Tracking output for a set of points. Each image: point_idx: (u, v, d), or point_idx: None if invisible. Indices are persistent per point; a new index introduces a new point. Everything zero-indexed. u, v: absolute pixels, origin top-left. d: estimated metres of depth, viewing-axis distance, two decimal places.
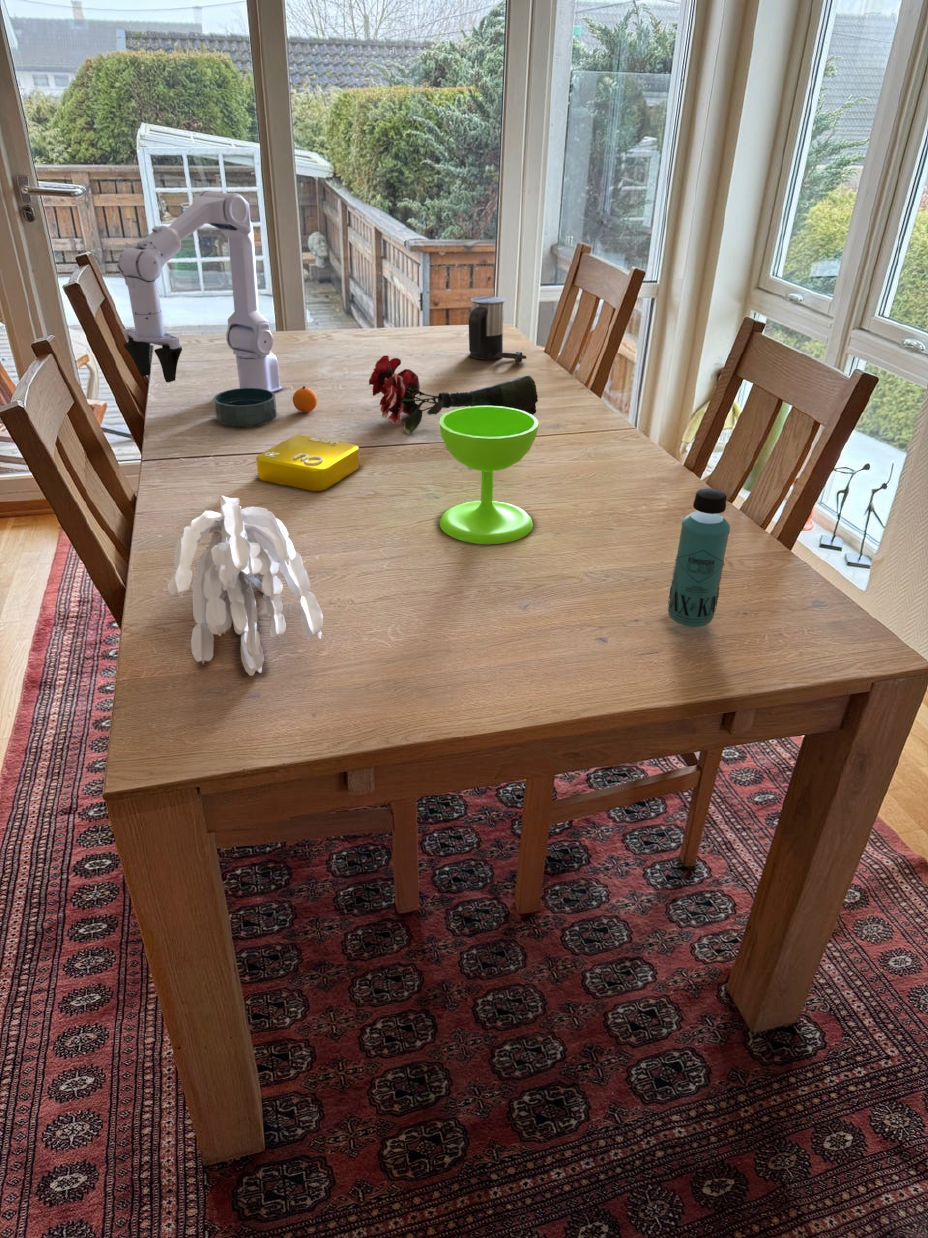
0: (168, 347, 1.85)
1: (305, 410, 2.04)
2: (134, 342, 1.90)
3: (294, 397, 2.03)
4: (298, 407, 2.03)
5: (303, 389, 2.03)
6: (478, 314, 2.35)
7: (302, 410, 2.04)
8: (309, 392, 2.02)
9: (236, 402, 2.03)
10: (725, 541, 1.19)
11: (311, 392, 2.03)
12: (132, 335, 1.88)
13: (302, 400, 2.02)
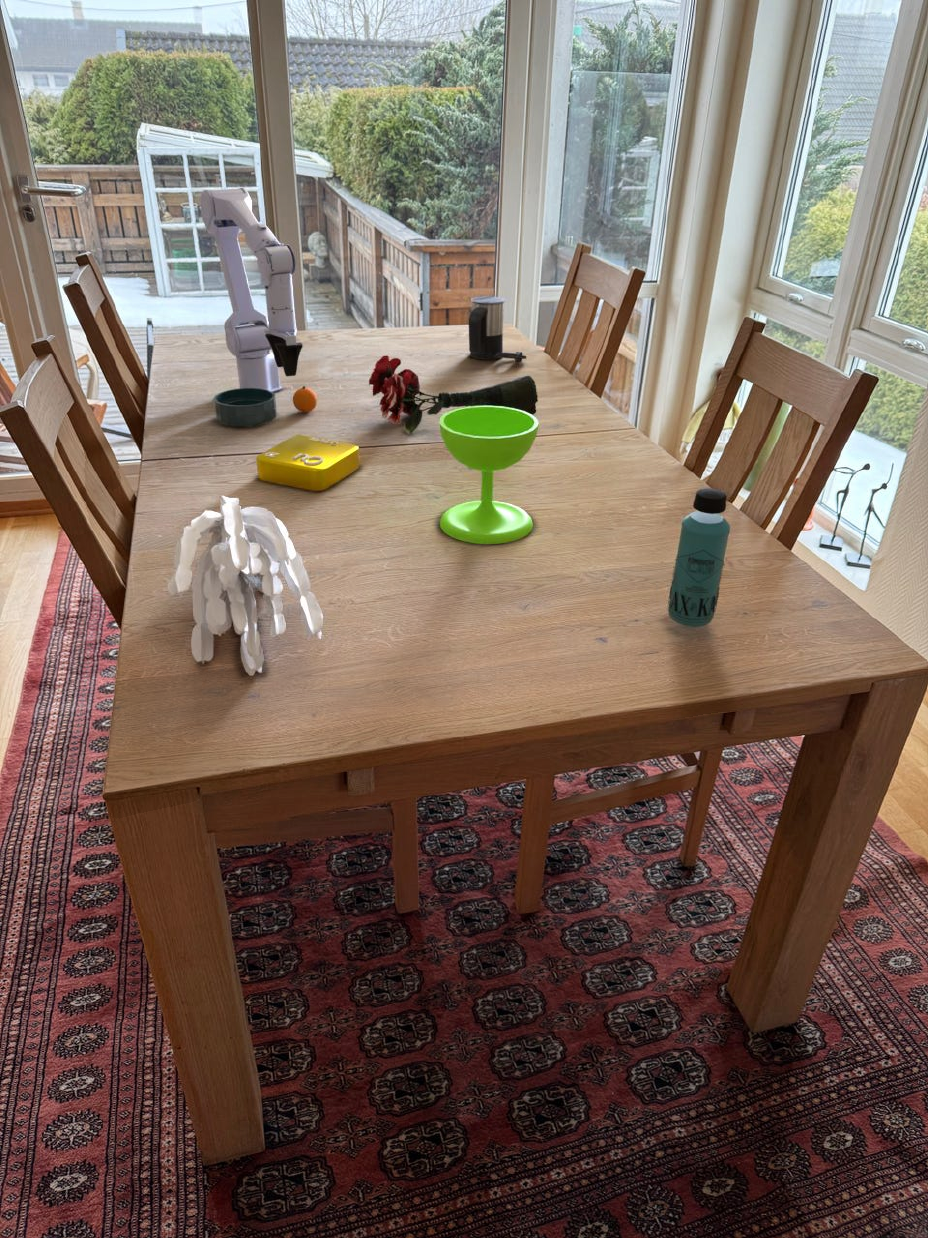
0: (285, 343, 1.91)
1: (305, 410, 2.04)
2: None
3: (294, 397, 2.03)
4: (298, 407, 2.03)
5: (303, 389, 2.03)
6: (478, 314, 2.35)
7: (302, 410, 2.04)
8: (309, 392, 2.02)
9: (236, 402, 2.03)
10: (725, 541, 1.19)
11: (311, 392, 2.03)
12: None
13: (302, 400, 2.02)
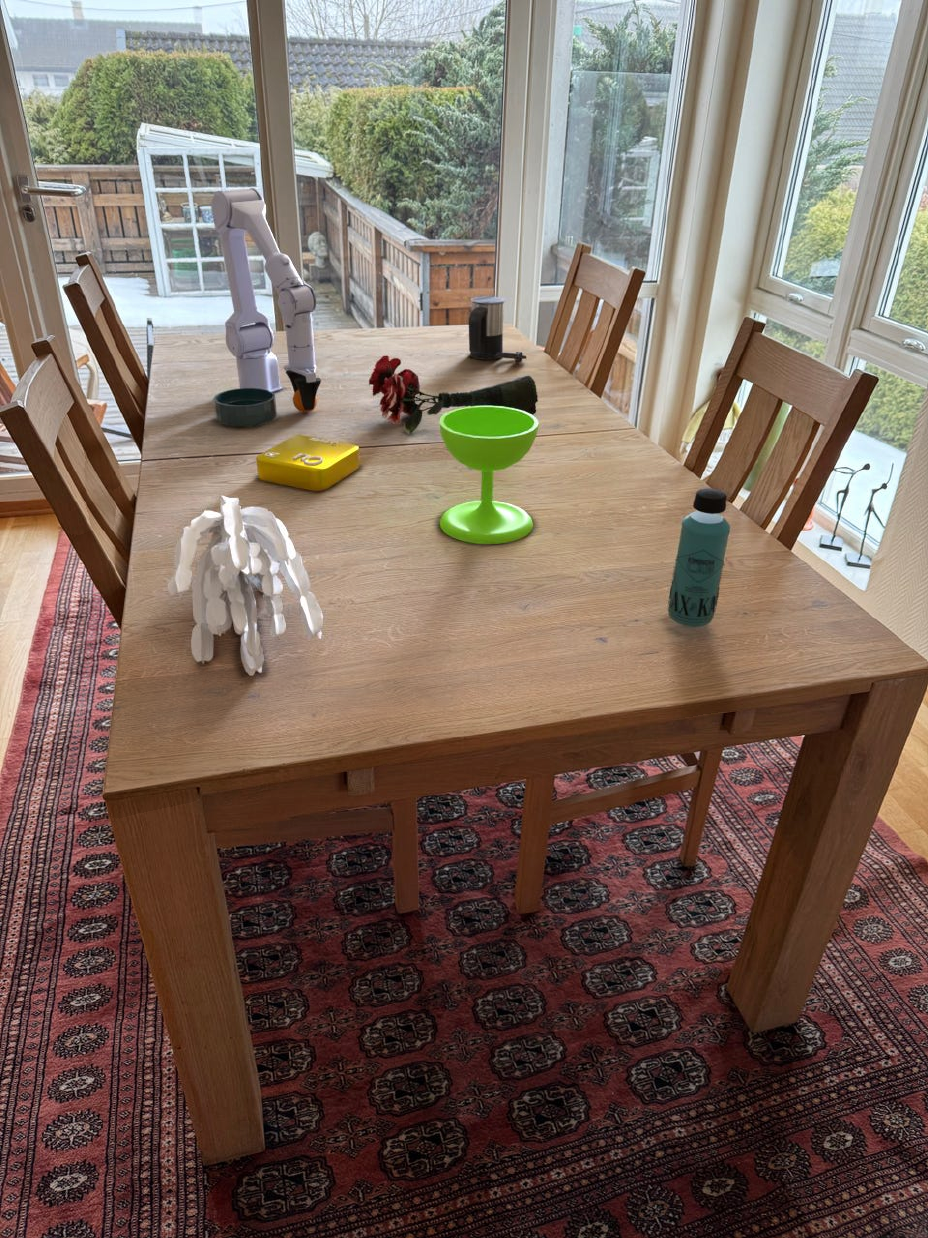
0: (304, 379, 1.97)
1: (305, 410, 2.04)
2: None
3: (294, 397, 2.03)
4: (298, 407, 2.03)
5: None
6: (478, 314, 2.35)
7: (302, 410, 2.04)
8: None
9: (236, 402, 2.03)
10: (725, 541, 1.19)
11: None
12: None
13: None
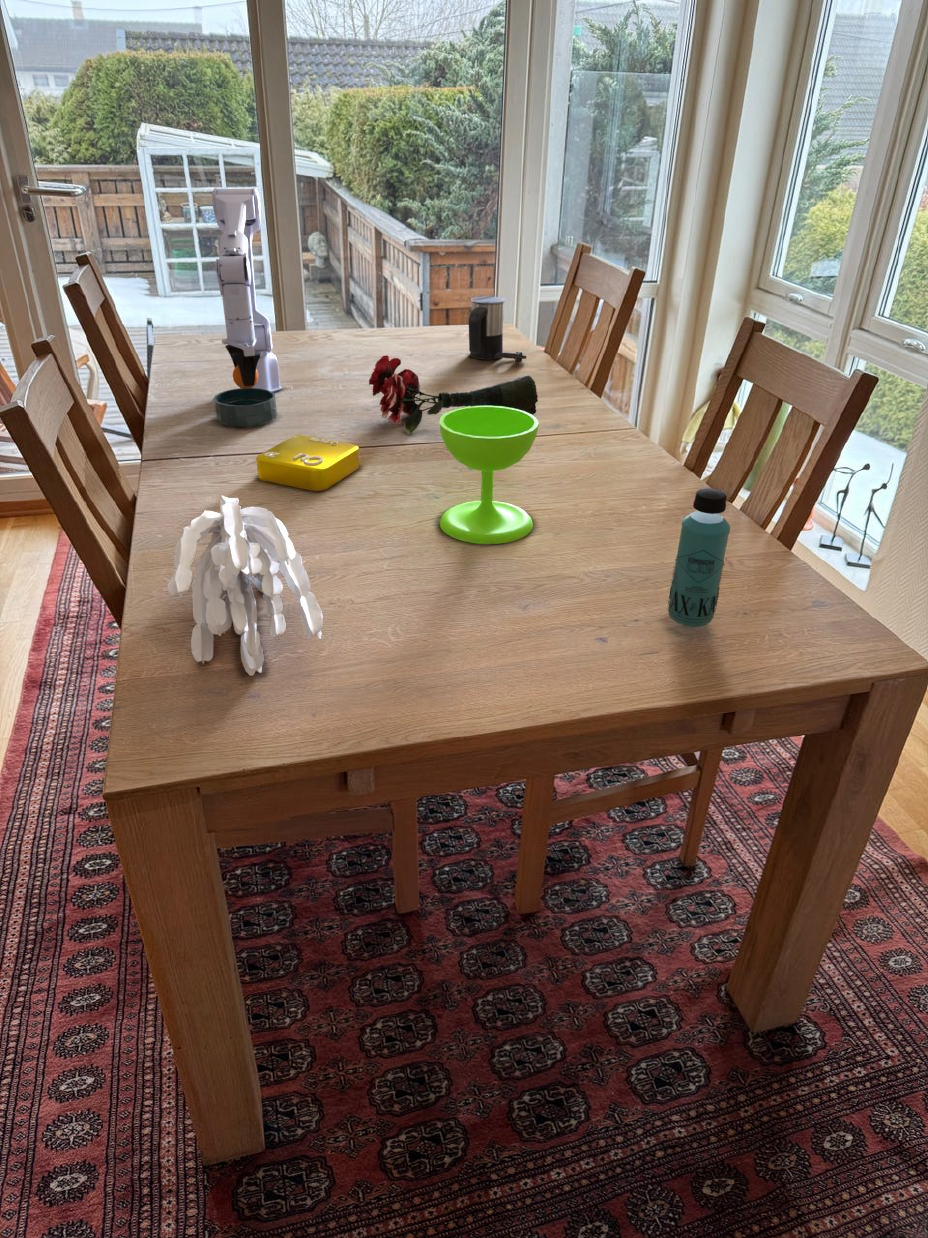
0: (243, 352, 1.89)
1: (245, 386, 1.96)
2: (234, 345, 1.96)
3: (234, 373, 1.95)
4: (238, 383, 1.95)
5: None
6: (478, 314, 2.35)
7: (242, 386, 1.96)
8: None
9: (236, 402, 2.03)
10: (725, 541, 1.19)
11: None
12: None
13: None
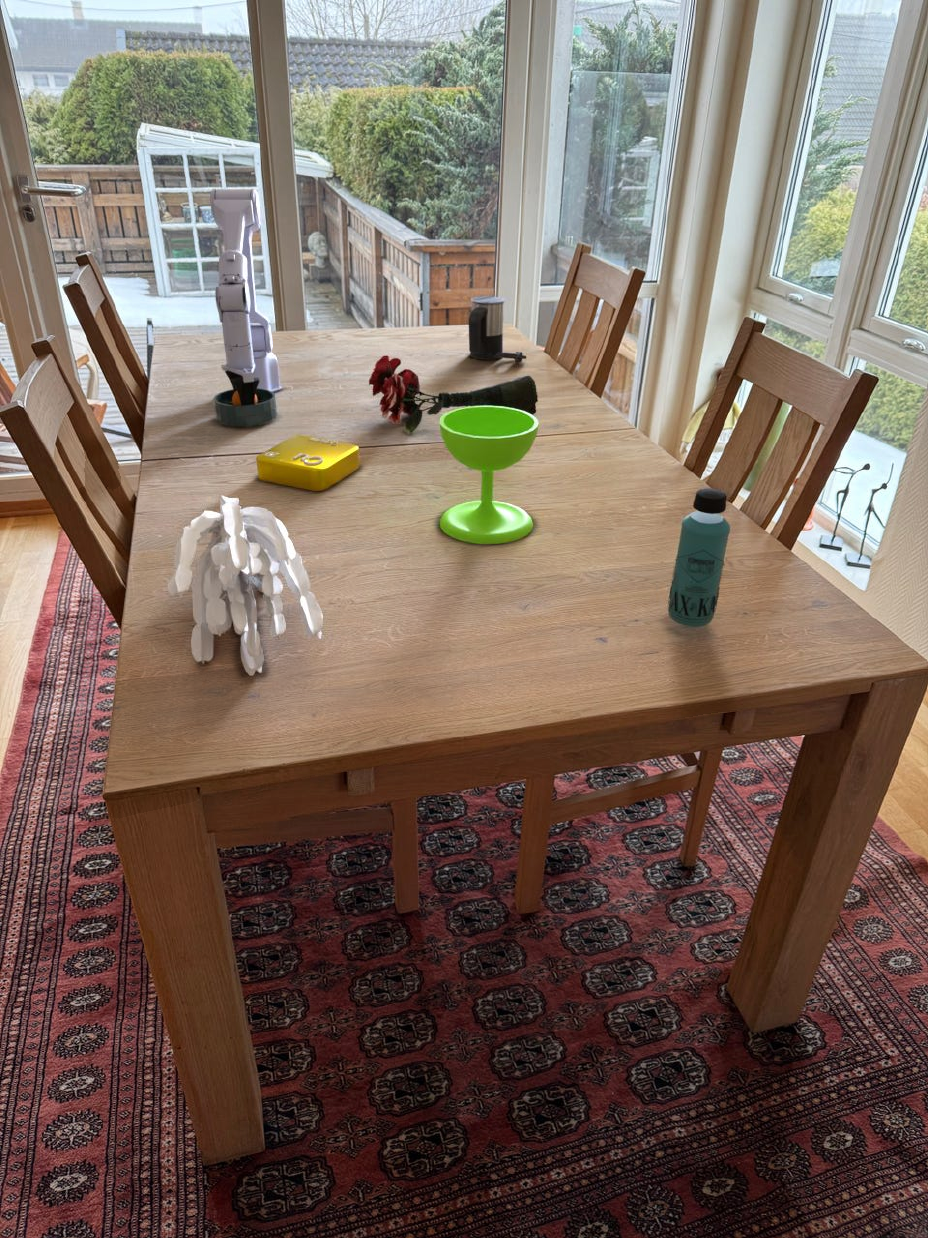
0: (242, 378, 1.92)
1: None
2: None
3: (233, 398, 1.97)
4: None
5: None
6: (478, 314, 2.35)
7: None
8: None
9: None
10: (725, 541, 1.19)
11: None
12: None
13: None
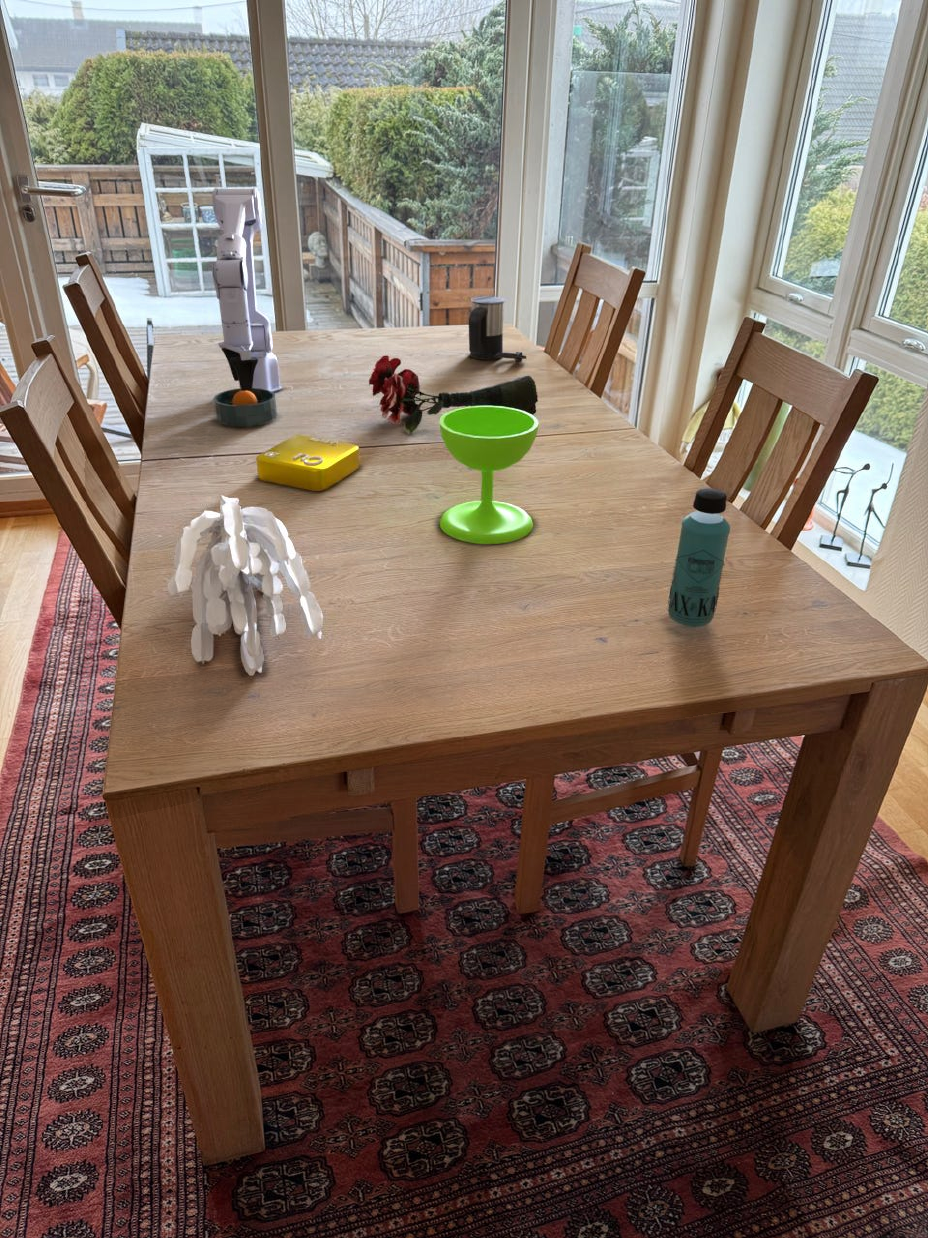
0: (240, 357, 1.89)
1: None
2: None
3: (233, 398, 1.99)
4: None
5: None
6: (478, 314, 2.35)
7: None
8: (248, 392, 1.99)
9: None
10: (725, 541, 1.19)
11: (250, 392, 2.00)
12: None
13: (241, 397, 1.98)
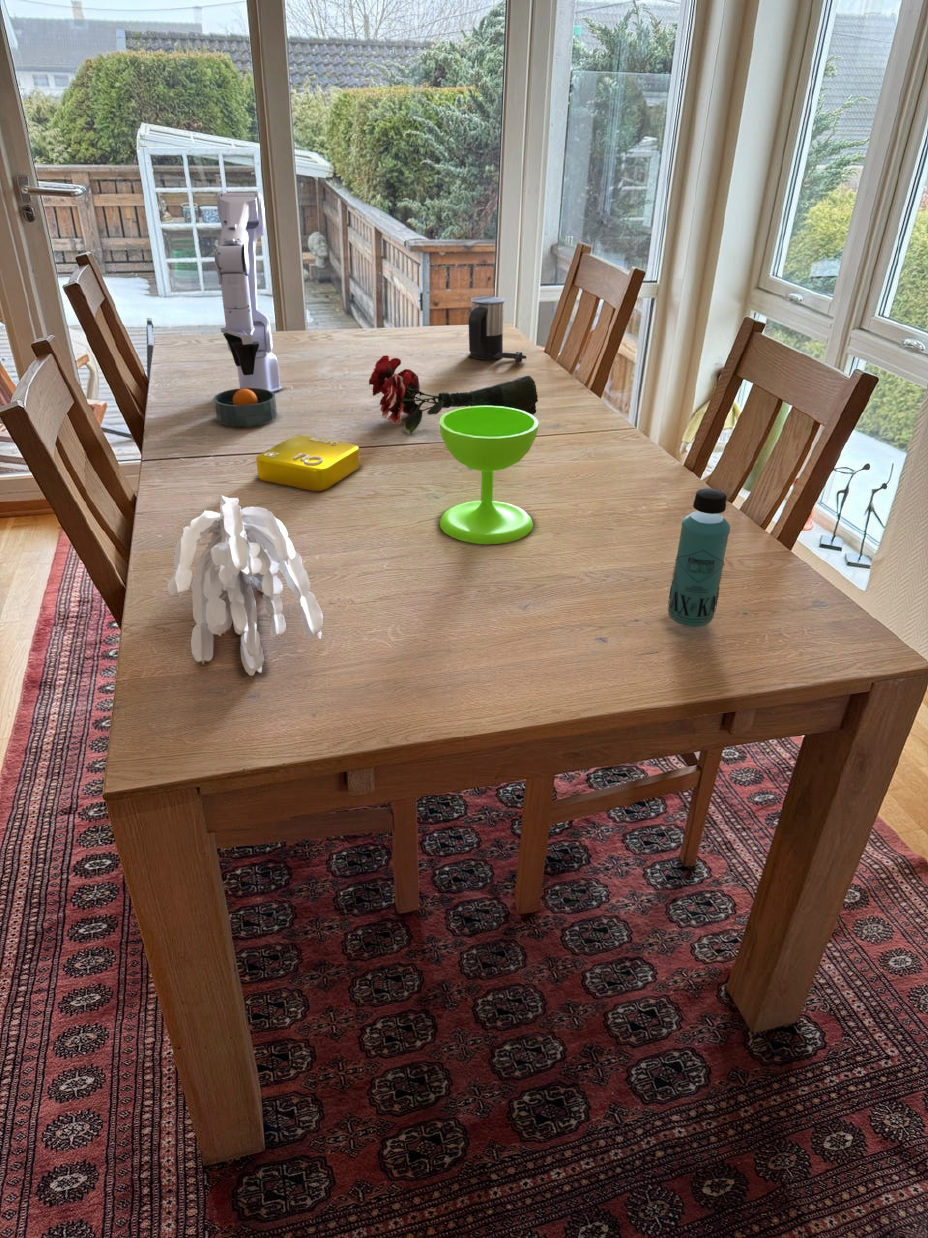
0: (242, 342, 1.92)
1: (244, 403, 1.99)
2: None
3: None
4: (237, 401, 1.99)
5: None
6: (478, 314, 2.35)
7: (241, 404, 1.99)
8: None
9: None
10: (725, 541, 1.19)
11: None
12: None
13: (241, 392, 1.99)
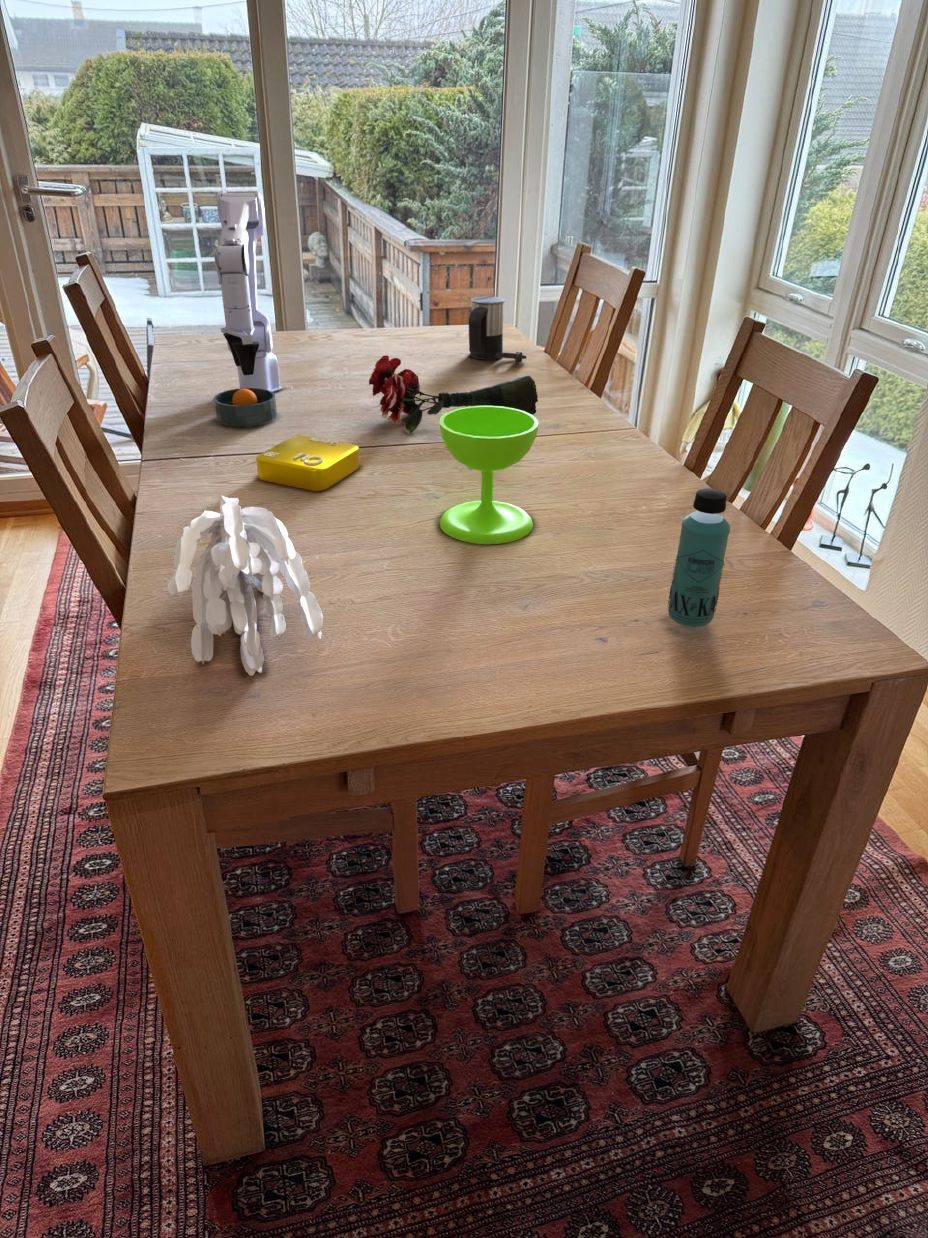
0: (242, 342, 1.92)
1: (244, 403, 1.99)
2: None
3: (233, 396, 2.00)
4: (236, 401, 1.99)
5: None
6: (478, 314, 2.35)
7: (241, 404, 1.99)
8: None
9: None
10: (725, 541, 1.19)
11: (250, 390, 2.01)
12: None
13: (240, 392, 1.99)
